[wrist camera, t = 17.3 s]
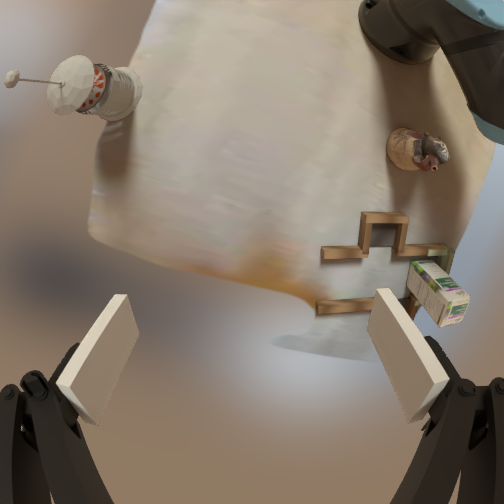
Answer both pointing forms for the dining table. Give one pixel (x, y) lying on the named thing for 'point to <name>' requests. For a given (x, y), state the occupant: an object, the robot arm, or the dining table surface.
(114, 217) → the dining table surface
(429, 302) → the syrup box
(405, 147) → the figurine
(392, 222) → the channel
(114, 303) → the robot arm
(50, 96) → the french press
